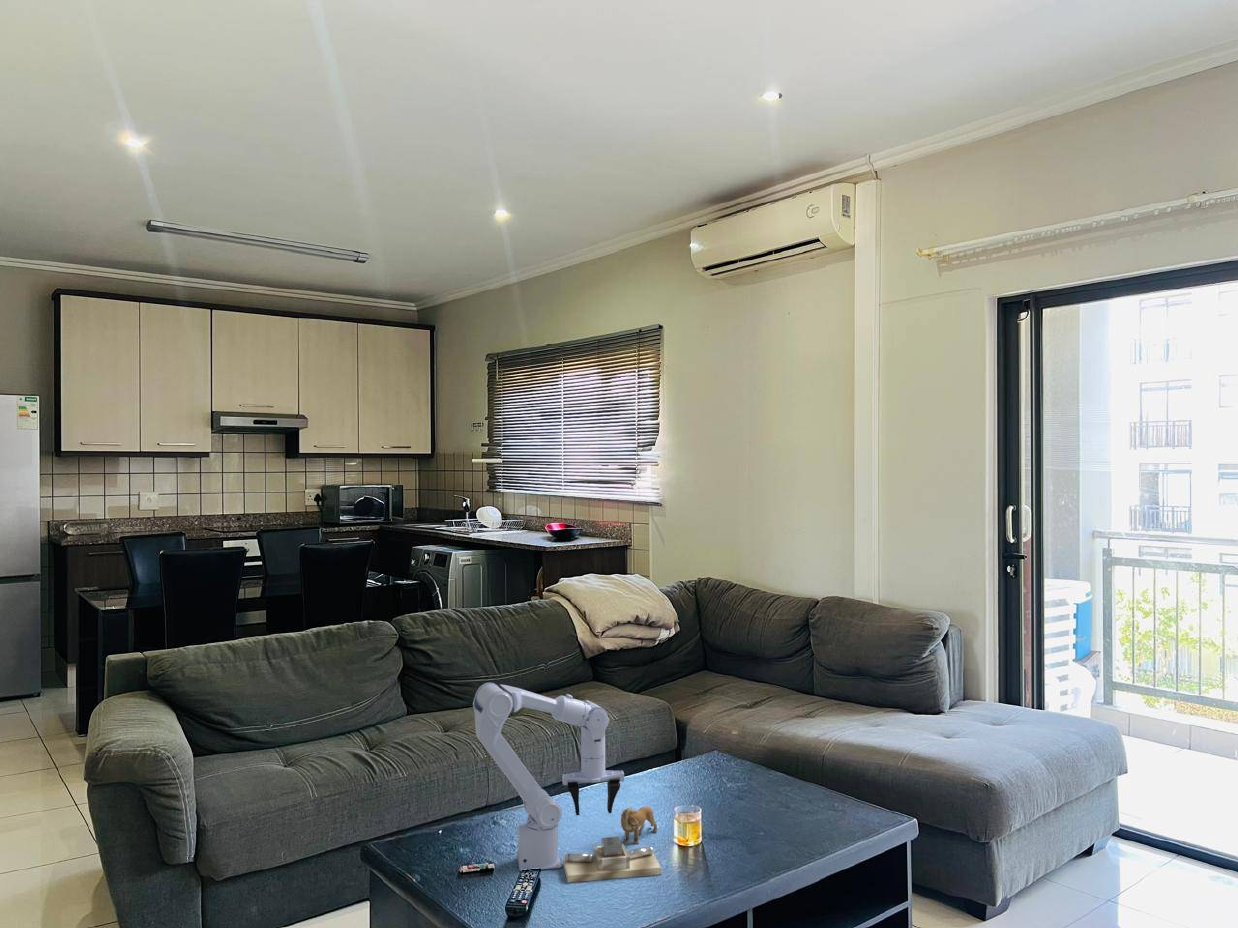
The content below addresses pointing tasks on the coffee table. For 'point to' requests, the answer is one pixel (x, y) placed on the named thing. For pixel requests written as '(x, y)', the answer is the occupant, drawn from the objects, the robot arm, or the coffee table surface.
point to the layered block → (611, 847)
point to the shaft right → (641, 852)
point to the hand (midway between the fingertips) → (593, 812)
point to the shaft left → (578, 857)
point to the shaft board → (611, 867)
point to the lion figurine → (636, 821)
